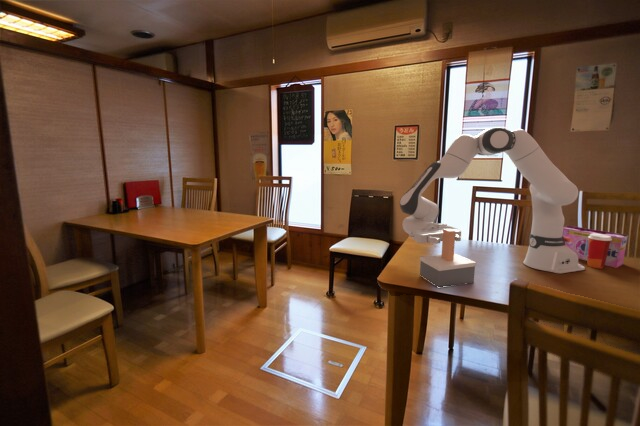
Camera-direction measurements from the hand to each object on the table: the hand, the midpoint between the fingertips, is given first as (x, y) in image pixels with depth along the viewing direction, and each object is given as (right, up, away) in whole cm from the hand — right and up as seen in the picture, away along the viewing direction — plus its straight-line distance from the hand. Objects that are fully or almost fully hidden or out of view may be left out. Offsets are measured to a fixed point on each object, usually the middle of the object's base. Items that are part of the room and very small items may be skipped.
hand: (449, 240), depth 122 cm
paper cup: (+70, -13, +15) cm, 73 cm away
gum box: (+75, -11, +25) cm, 80 cm away
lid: (0, -11, +2) cm, 11 cm away
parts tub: (0, -16, +3) cm, 16 cm away
